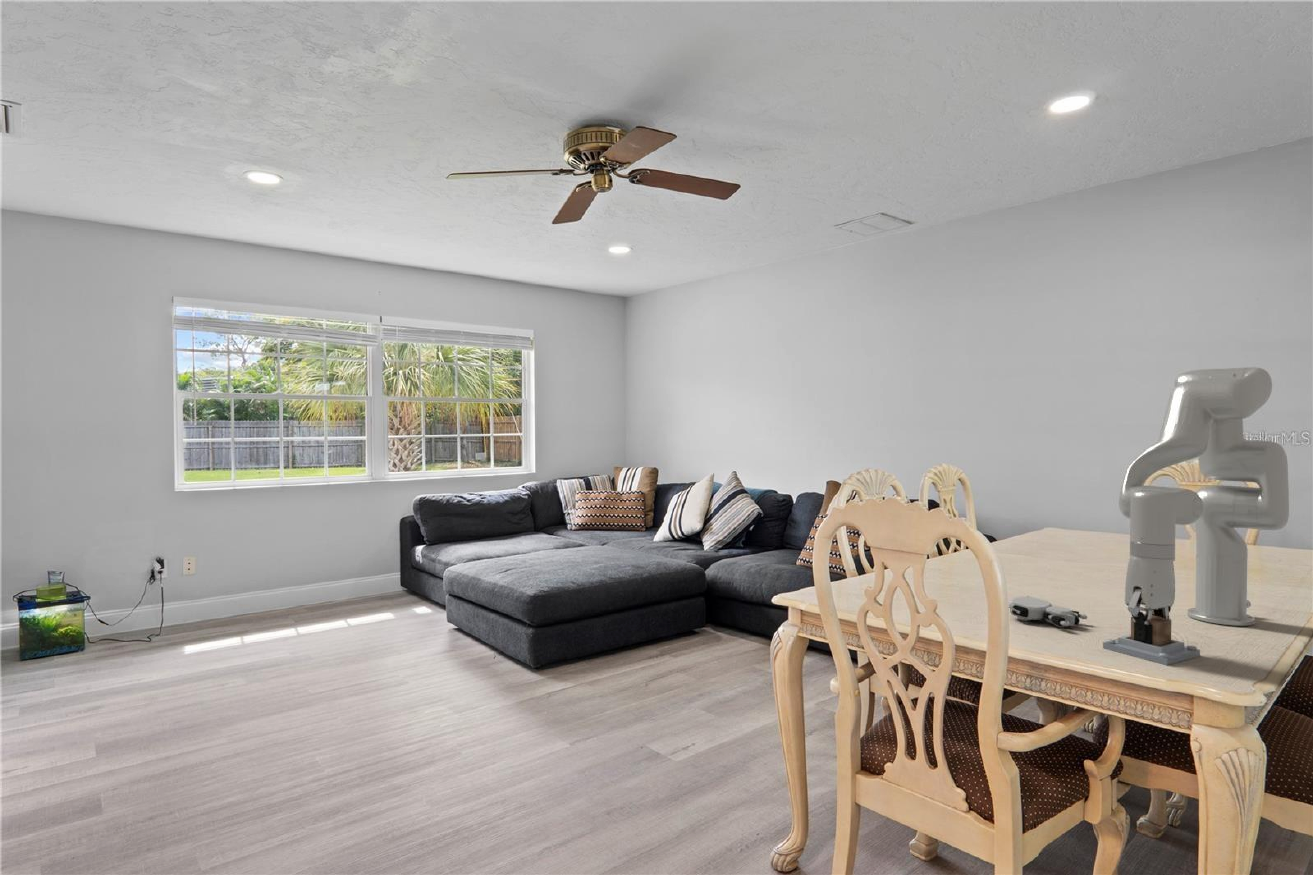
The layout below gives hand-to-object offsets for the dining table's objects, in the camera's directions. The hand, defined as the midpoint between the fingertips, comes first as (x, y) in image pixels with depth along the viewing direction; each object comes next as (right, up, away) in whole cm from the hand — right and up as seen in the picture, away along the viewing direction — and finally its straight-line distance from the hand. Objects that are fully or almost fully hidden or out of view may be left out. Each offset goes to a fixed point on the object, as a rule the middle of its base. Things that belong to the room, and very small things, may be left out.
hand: (1150, 640), depth 146 cm
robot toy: (-10, -2, +22) cm, 24 cm away
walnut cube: (0, 0, 0) cm, 0 cm away
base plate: (0, -2, 0) cm, 2 cm away
